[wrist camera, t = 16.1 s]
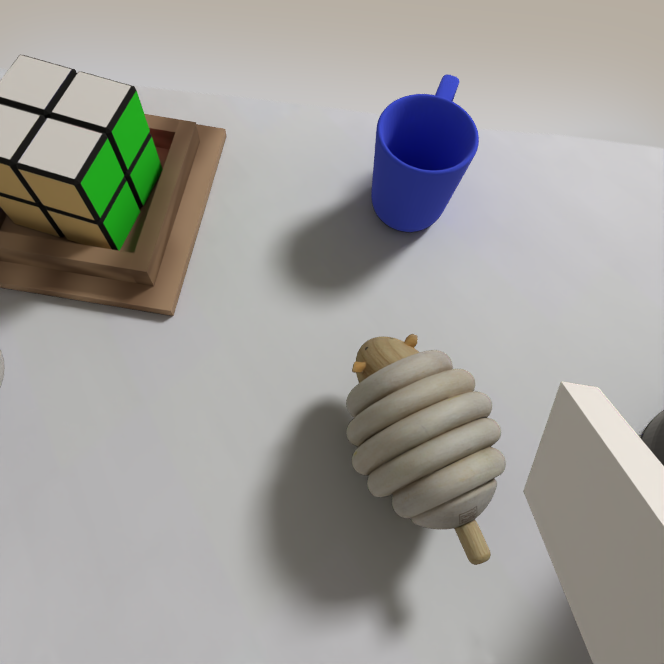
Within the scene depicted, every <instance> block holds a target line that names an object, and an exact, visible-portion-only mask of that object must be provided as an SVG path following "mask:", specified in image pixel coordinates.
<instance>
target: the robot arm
mask: <svg viewBox="0 0 664 664" xmlns="http://www.w3.org/2000/svg"><path fill="white" fill-rule="evenodd" d="M524 494H525V496H526V499H527V501H528V504H529V506H530V509H531V511H532V514H533V516H534V519H535V521H536V524H537V526H538V529H539V531H540V534H541V536H542V539H543V541H544V543H545V546H546V548H547V551H548V553H549V556H550V558H551V561H552V563H553V566H554V568H555V571H556V573H557V576H558V578H559V581H560V583H561V586H562V588H563V591H564V593H565V595H566V598H567V600H568V603H569V605H570V608H571V610H572V613H573V615H574V618H575V620H576V623H577V625H578V628H579V630H580V633H581V635H582V638H583V640H584V643H585V645H586V647H587V650H588V652H589V655H590V657H591V660H592V662H593V664H664V410H663V411H662V412H660V413H659V414H658V415H657V416H656V417H655V418H654V419H653V420H652V421H651V423H650V424H649V425H648V427H647V429H646V430H645V432H644V434H643V436H642V439H641V438H640V437H639V436H638V435H637V433H636V432H635V431H634V430H633V429H632V427H631V426H630V425H629V424H628V423H627V421H626V420H625V419H624V418H623V417H622V415H621V414H620V413H619V412H618V411H617V409H616V408H615V407H614V406H613V405H612V403H611V402H610V401H609V400H608V399H607V397H606V396H605V395H604V394H603V392H602V391H601V390H600V389H599V388H598V387H592V386H586V385H580V384H574V383H568V382H562V381H561V383H560V386H559V389H558V392H557V395H556V398H555V401H554V403H553V406H552V409H551V412H550V415H549V418H548V421H547V424H546V427H545V430H544V433H543V436H542V439H541V441H540V444H539V447H538V450H537V453H536V456H535V459H534V462H533V465H532V468H531V471H530V474H529V476H528V479H527V482H526V485H525V488H524Z"/></svg>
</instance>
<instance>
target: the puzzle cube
mask: <svg viewBox="0 0 664 664" xmlns="http://www.w3.org/2000/svg"><path fill="white" fill-rule="evenodd" d="M162 170H163V168H162V165H161V162H160V159H159V156H158V153H157V150H156V147H155V144H154V141H153V138H152V136H151V134H150V129H149V126H148V123H147V120H146V118H145V115H144V112H143V109H142V106H141V103H140V100H139V97H138V94H137V91H136V89H135V87H134V86H131V85H127V84H124V83H120V82H117V81H113V80H110V79H106V78H102V77H99V76H95V75H92V74H88V73H85V72H78V73H76V70H75V69H71V68H67V67H64V66H60V65H57V64H53V63H50V62H46V61H43V60H39V59H36V58H32V57H29V56H25V55H19V57H18V58H17V59H16V61H15V62H14V63H13V65H12V66H11V67H10V69H9V70H8V71H7V73H6V74H5V75H4V77H3V78H2V79H1V81H0V207H1V208H2V209H3V211H4V212H5V213H6V214H7V215H8V217H9V218H10V219H11V220H12V222H13V223H14V224H17V225H20V226H24V227H27V228H30V229H34V230H37V231H40V232H44V233H47V234H50V235H54V236H57V237H64V236H65V237H66V238H67V240H70V241H74V242H77V243H80V244H84V245H88V246H94V247H100V248H106V249H112V250H118V251H120V249H121V247H122V245H123V244H124V242H125V240H126V238H127V236H128V234H129V232H130V230H131V229H132V227H133V225H134V223H135V221H136V219H137V217H138V215H139V214H140V210H139V208H140V207H143V206H144V204H145V202H146V200H147V198H148V196H149V195H150V193H151V191H152V189H153V187H154V185H155V183H156V181H157V180H158V178H159V176H160V174H161V172H162Z"/></svg>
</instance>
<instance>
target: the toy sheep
mask: <svg viewBox="0 0 664 664" xmlns="http://www.w3.org/2000/svg"><path fill="white" fill-rule="evenodd" d="M417 337H418V336H417V335H414V334H411V335H409V336H408V337H407V338H406V340H405V342H403V341H401V340H398V339H395V338H391V337H376V338H373V339H370V340H368V341H367V342H365V343H364V344H363V345H362V346H361V348H360V349H359V351H358V354H357V357H356V362H354V364H353V369H352V372H356V374H357V378H358V381H359V384H358V385H357V386H355V387H354V388H353V389H352V391H351V392H350V393H349V395H348V397H347V400H346V407H347V410H348V412H349V413H350V414H351V415H352V416H353V417H354V419H353V420H352V421H351V422H350V423H349V425H348V427H347V431H346V434H347V438H348V440H349V441H350V442H351V443H352V444H353V445H355V446H357V447H358V448H357V449H356V450H355V452H354V454H353V456H352V465H353V468H354V469H355V470H356V471H357V472H358V473H360V474H362V475H369V477H368V481H367V486H368V489H369V491H370V492H371V494H372V495H374V496H375V497H385V496H389V495H391V494H392V495H393V497H392V506H393V509H394V511H395V512H396V513H397V514H398V515H399V516H401V517H403V518H411V519H412V522H413V523H415V524H417V525H419V526H422V527H426V528H431V529H451V528H454V529H455V531H456V533H457V535H458V537H459V540H460V542H461V544H462V546H463V549H464V551H465V553H466V555H467V558H468V560H469V561H470V562H471V563H472V564H474V565H477V564H481V563H483V562H486V561H487V560H489V558H490V555H491V554H490V550H489V548H488V546H487V544H486V541H485V539H484V537H483V535H482V533H481V530H480V528H479V526H478V524H477V522H476V521H475V518H476V517H477V516H479V515H480V514H481V513H482V512H483V511H484V510H485V508H486V507H487V506H488V504H489V503H490V501H491V499H492V497H493V495H494V493H495V490H496V487H497V482H496V480H495V479H494V478H495V477H497V476H499V475H500V474H502V473H503V472H504V470H505V466H506V462H505V458H504V456H503V454H502V453H501V452H500V451H499V450H497V449H495V448H492V447H491V446H492V445H493V444H495V443H496V442H497V441H498V440H499V438H500V436H501V429H500V426H499V425H498V423H497V422H496V421H495V420H493V419H489V418H487V417H488V416H489V414H490V413H491V410H492V402H491V400H490V398H489V397H488V396H487V395H486V394H484V393H481V392H476V391H475V392H473V391H474V388H475V380H474V377H473V376H472V374H471V373H469V372H468V371H466V370H463V369H453V366H452V361H451V359H450V357H449V356H448V355H447V354H445V353H443V352H441V351H437V350H430V351H424V352H420V353H419V352H418V351H417V350H416V349H415V348H414V347H415V346H416V344H417V340H418V339H417Z"/></svg>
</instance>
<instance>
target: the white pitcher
mask: <svg viewBox="0 0 664 664" xmlns="http://www.w3.org/2000/svg"><path fill="white" fill-rule="evenodd" d="M3 377H4V359H3V356H2V352H1V350H0V387H1V384H2V381H3Z"/></svg>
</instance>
